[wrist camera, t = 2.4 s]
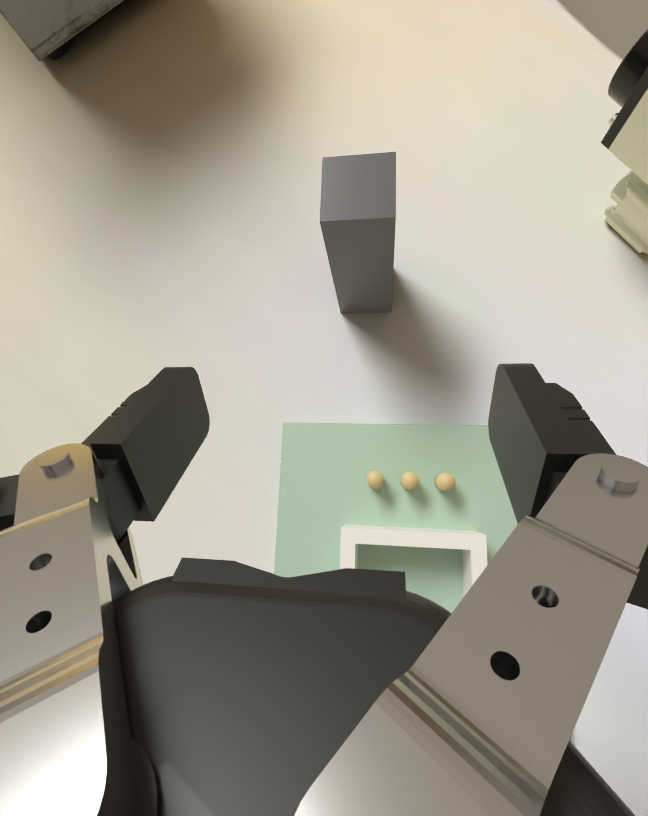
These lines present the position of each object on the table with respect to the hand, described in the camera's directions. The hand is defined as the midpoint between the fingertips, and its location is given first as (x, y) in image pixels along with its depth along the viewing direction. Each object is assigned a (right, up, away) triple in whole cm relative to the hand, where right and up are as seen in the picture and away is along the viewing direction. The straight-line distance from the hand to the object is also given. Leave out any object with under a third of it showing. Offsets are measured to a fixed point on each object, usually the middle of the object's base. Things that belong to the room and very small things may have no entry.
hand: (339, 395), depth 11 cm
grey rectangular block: (+3, +8, +18) cm, 20 cm away
